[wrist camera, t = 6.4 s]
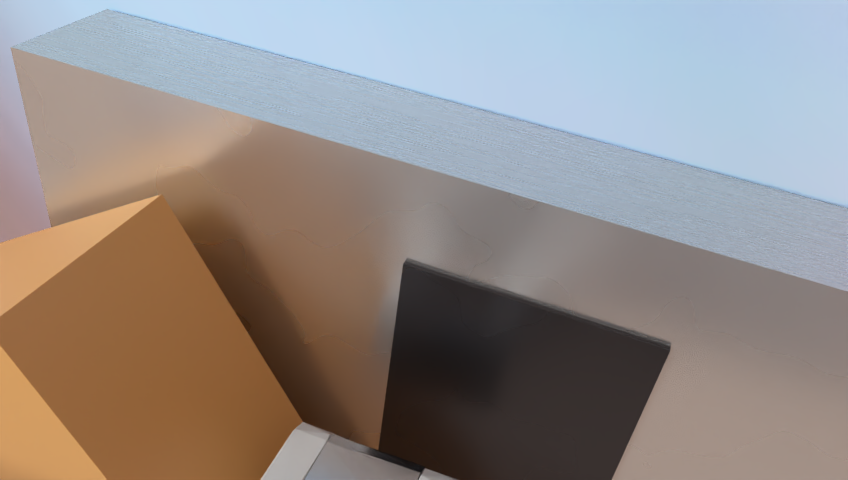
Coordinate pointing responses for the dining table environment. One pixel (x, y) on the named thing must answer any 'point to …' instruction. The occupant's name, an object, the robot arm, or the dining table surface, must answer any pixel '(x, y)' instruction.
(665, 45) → the dining table surface
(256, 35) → the dining table surface
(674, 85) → the dining table surface
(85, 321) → the swing bar
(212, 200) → the panel
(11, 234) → the dining table surface
